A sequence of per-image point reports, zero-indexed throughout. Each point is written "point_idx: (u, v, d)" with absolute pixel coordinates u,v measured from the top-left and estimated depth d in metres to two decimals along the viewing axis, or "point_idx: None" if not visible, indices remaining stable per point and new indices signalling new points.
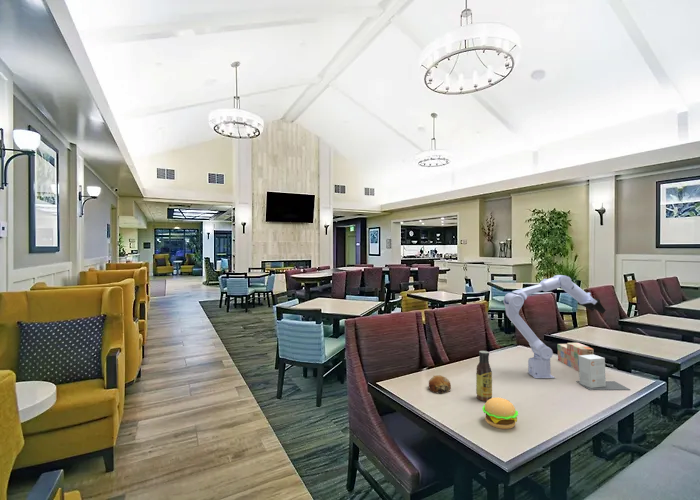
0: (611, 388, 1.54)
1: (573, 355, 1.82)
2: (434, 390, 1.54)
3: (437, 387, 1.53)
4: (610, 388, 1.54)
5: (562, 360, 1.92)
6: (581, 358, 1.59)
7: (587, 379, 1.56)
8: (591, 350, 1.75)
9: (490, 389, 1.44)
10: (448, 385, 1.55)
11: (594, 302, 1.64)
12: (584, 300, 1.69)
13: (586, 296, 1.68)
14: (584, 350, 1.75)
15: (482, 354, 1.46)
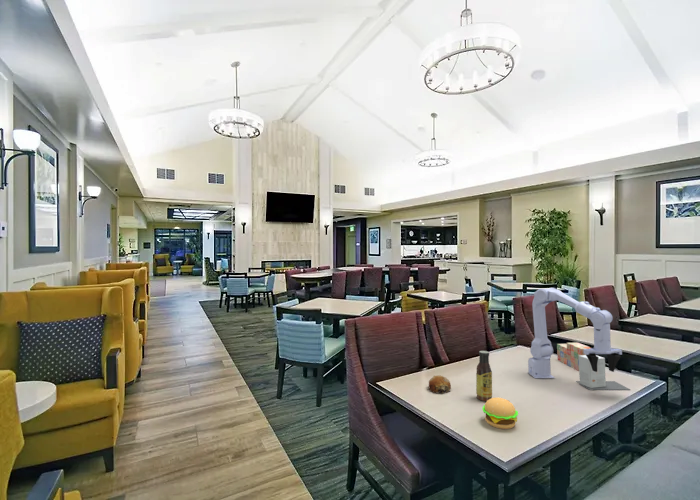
0: (611, 388, 1.54)
1: (573, 355, 1.82)
2: (434, 390, 1.54)
3: (437, 387, 1.53)
4: (610, 388, 1.54)
5: (562, 360, 1.92)
6: (581, 358, 1.59)
7: (587, 379, 1.56)
8: None
9: (490, 389, 1.44)
10: (448, 385, 1.55)
11: (584, 352, 1.48)
12: (594, 347, 1.49)
13: (597, 347, 1.47)
14: None
15: (482, 354, 1.46)
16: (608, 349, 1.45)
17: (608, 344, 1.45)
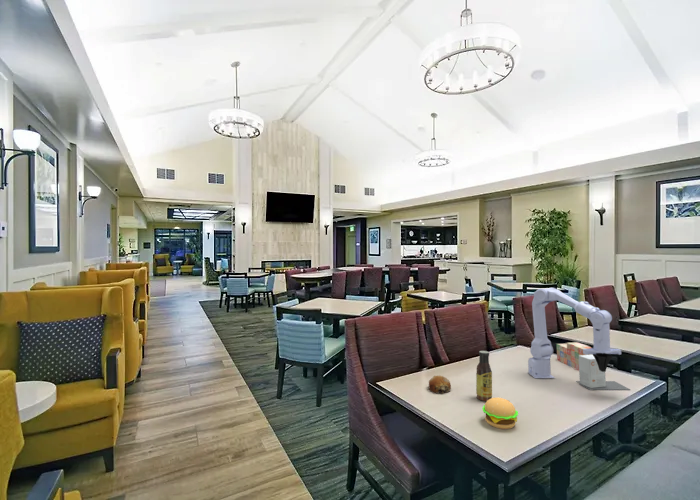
0: (611, 388, 1.54)
1: (574, 355, 1.82)
2: (434, 390, 1.54)
3: (437, 387, 1.53)
4: (610, 388, 1.54)
5: (562, 360, 1.92)
6: (581, 358, 1.59)
7: (587, 379, 1.56)
8: None
9: (490, 389, 1.44)
10: (448, 385, 1.55)
11: (583, 351, 1.48)
12: None
13: (596, 347, 1.47)
14: None
15: (482, 354, 1.46)
16: (607, 349, 1.45)
17: (607, 344, 1.45)
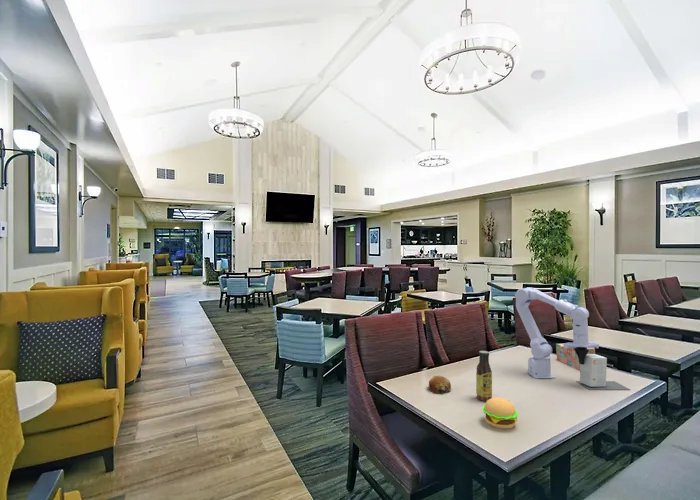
0: (611, 388, 1.54)
1: (574, 355, 1.82)
2: (434, 390, 1.54)
3: (437, 387, 1.53)
4: (610, 388, 1.54)
5: (561, 360, 1.92)
6: None
7: (587, 377, 1.56)
8: (593, 349, 1.76)
9: (490, 389, 1.44)
10: (448, 385, 1.55)
11: (564, 346, 1.59)
12: (573, 342, 1.60)
13: (575, 341, 1.58)
14: None
15: (482, 354, 1.46)
16: (586, 343, 1.56)
17: (586, 338, 1.56)
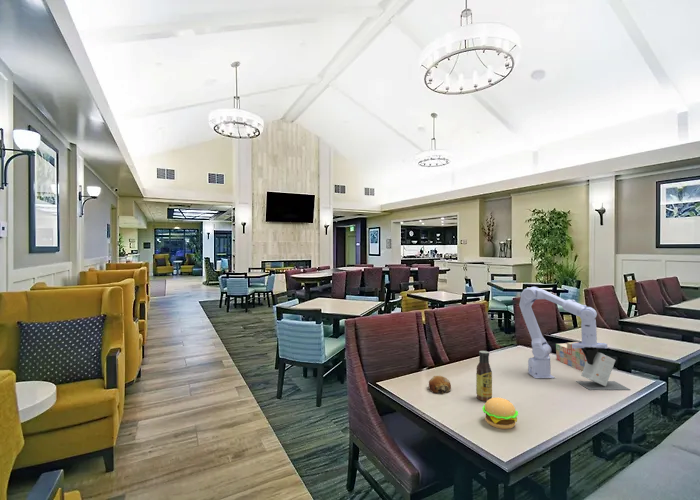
0: (611, 388, 1.54)
1: (575, 355, 1.82)
2: (434, 390, 1.54)
3: (437, 387, 1.53)
4: (610, 388, 1.54)
5: (561, 360, 1.92)
6: None
7: (591, 372, 1.56)
8: None
9: (490, 389, 1.44)
10: (448, 385, 1.54)
11: (572, 346, 1.59)
12: (581, 342, 1.60)
13: (584, 341, 1.58)
14: None
15: (482, 354, 1.46)
16: (594, 343, 1.56)
17: (594, 339, 1.56)
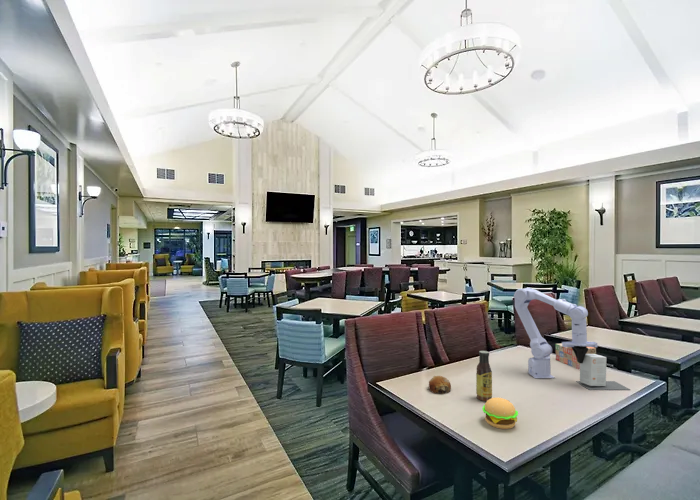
0: (611, 388, 1.54)
1: (575, 355, 1.82)
2: (434, 390, 1.54)
3: (437, 387, 1.53)
4: (610, 388, 1.54)
5: (561, 360, 1.92)
6: None
7: (587, 377, 1.56)
8: (594, 349, 1.76)
9: (490, 389, 1.44)
10: (448, 385, 1.54)
11: (562, 344, 1.60)
12: (572, 340, 1.61)
13: (574, 340, 1.58)
14: (588, 349, 1.76)
15: (482, 354, 1.46)
16: (584, 342, 1.56)
17: (584, 337, 1.56)
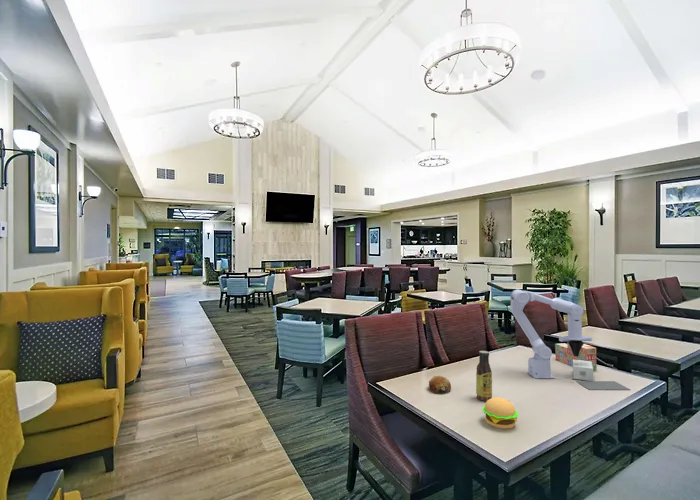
0: (611, 388, 1.54)
1: None
2: (434, 391, 1.54)
3: (437, 388, 1.53)
4: (610, 388, 1.54)
5: (561, 360, 1.92)
6: None
7: None
8: (594, 349, 1.77)
9: (490, 389, 1.44)
10: (448, 386, 1.54)
11: (559, 339, 1.70)
12: (568, 335, 1.71)
13: (570, 335, 1.69)
14: (588, 349, 1.76)
15: (482, 354, 1.46)
16: (579, 336, 1.67)
17: (579, 332, 1.67)
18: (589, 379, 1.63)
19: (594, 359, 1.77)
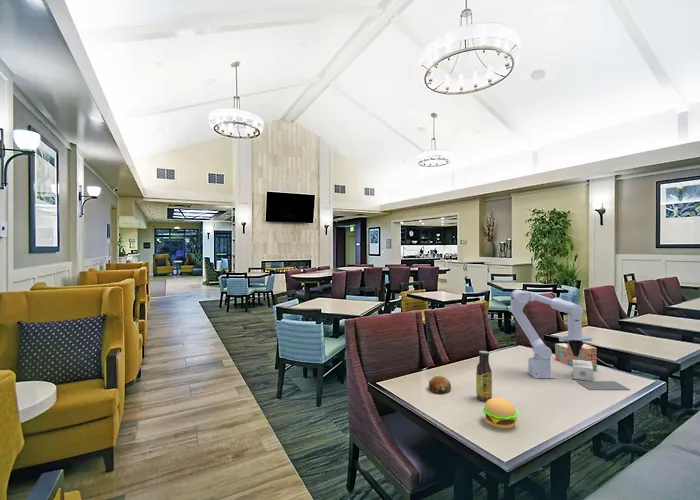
0: (611, 388, 1.54)
1: None
2: (434, 391, 1.53)
3: (437, 388, 1.53)
4: (610, 388, 1.54)
5: (561, 360, 1.92)
6: None
7: None
8: (594, 349, 1.77)
9: (490, 389, 1.44)
10: (448, 386, 1.54)
11: (559, 339, 1.70)
12: (568, 335, 1.71)
13: (570, 335, 1.69)
14: (588, 349, 1.76)
15: (482, 354, 1.46)
16: (579, 336, 1.67)
17: (579, 332, 1.67)
18: (589, 379, 1.63)
19: (594, 359, 1.77)
